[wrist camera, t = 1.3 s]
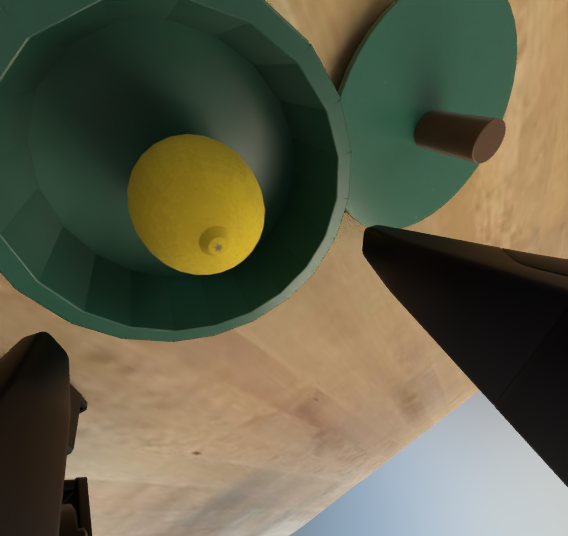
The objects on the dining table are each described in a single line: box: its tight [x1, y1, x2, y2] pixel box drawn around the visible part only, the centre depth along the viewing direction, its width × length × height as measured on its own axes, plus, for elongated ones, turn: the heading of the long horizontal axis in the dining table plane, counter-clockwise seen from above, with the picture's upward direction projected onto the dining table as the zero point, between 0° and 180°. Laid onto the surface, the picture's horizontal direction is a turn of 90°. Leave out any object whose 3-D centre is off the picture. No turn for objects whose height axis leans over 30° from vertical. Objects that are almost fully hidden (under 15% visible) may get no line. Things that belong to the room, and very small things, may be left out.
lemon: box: [127, 134, 265, 275], centre depth 12 cm, size 6×6×8 cm
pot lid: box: [338, 0, 517, 229], centre depth 18 cm, size 15×15×6 cm
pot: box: [0, 0, 352, 342], centre depth 14 cm, size 15×15×5 cm
